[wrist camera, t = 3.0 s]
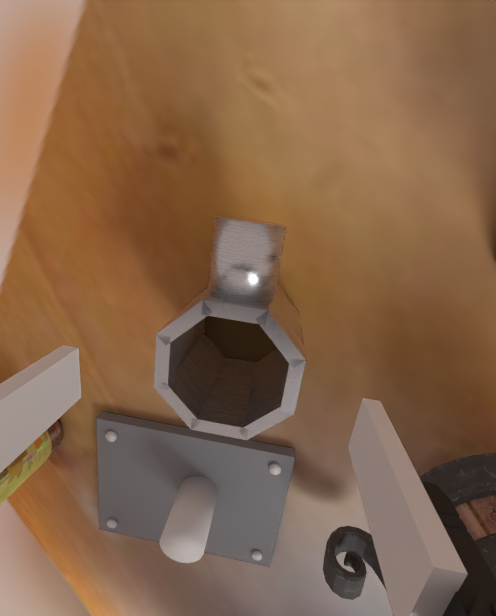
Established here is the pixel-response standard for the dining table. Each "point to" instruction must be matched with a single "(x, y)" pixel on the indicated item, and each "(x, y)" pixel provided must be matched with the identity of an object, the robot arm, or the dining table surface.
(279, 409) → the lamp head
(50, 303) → the dining table surface
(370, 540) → the tankard
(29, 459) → the sauce bottle
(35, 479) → the dining table surface
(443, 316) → the dining table surface
